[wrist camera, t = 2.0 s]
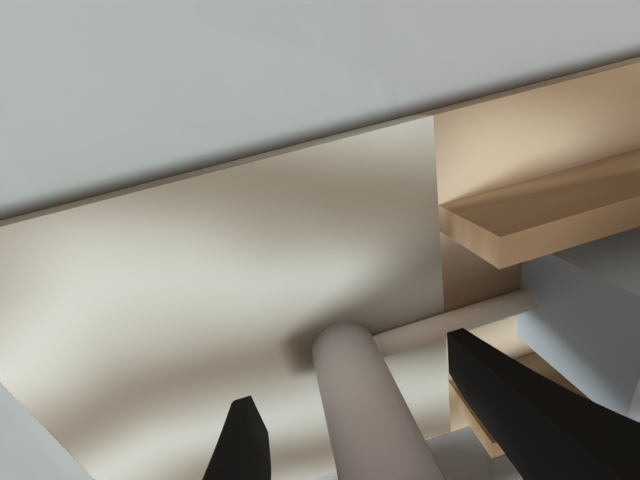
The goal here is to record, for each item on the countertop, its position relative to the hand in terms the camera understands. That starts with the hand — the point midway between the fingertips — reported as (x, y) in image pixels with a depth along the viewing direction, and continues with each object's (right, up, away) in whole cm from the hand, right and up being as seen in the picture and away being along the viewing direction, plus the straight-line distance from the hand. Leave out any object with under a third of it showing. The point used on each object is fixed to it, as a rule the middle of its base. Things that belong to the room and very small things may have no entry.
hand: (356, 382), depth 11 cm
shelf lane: (+1, +2, +3) cm, 4 cm away
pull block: (+5, +2, +2) cm, 6 cm away
